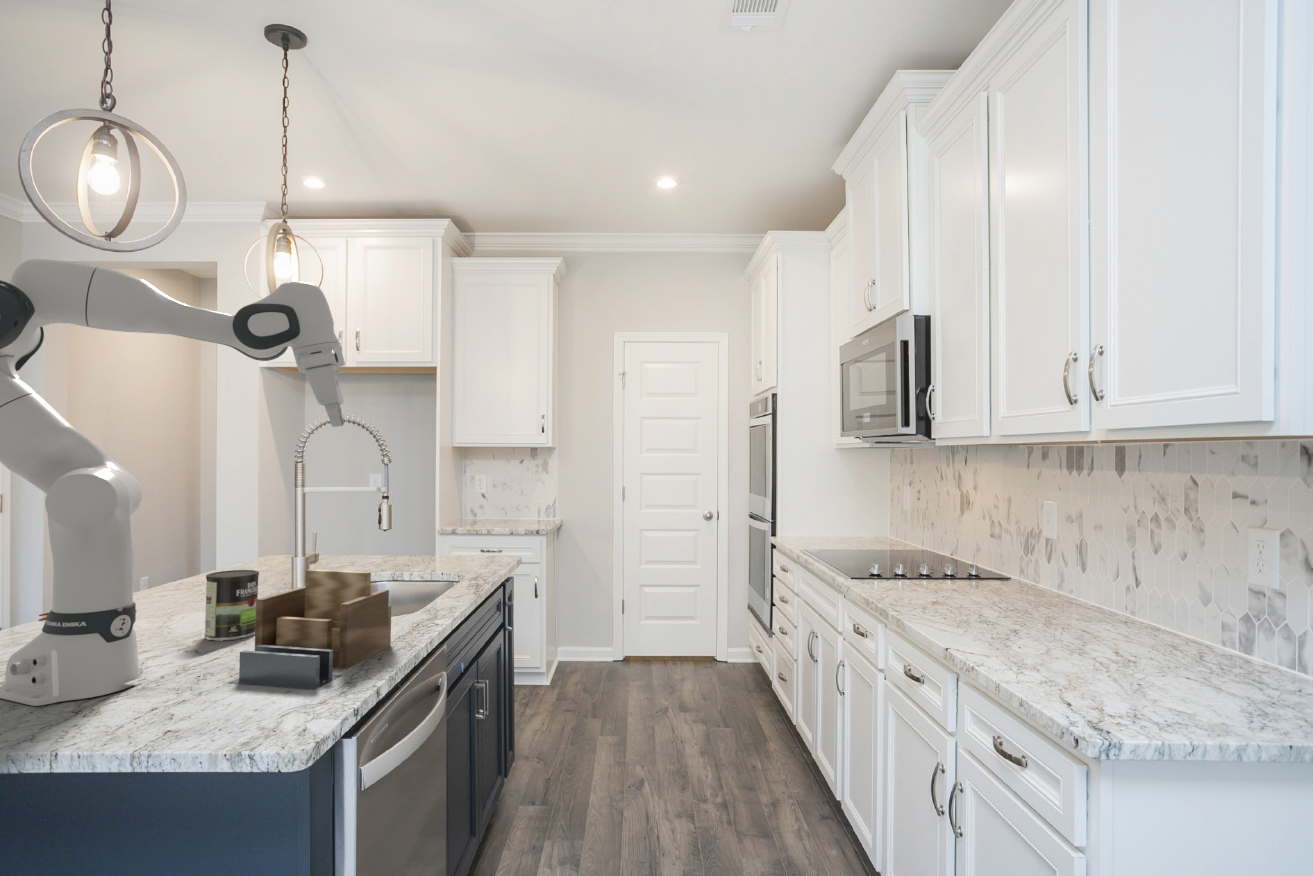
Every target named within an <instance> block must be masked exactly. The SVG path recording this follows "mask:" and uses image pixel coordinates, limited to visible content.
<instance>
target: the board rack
mask: <svg viewBox="0 0 1313 876" xmlns="http://www.w3.org/2000/svg"><path fill="white" fill-rule="evenodd" d="M389 600H390V590H389V589H380V590H377V591H375V592H372V593H371V592H370V594H368V595H366V596H363V597H360V598H357V599H354V600H351V601H348V602H345V603H342V604H341V610H340V648H339V649H328V650H333V668H332V670H346V669H348V668H351V667H352V666H354V665H356V664H358V663H360V662H362V661H365V660H366V659H368V658H371V657H372V656H374V655H376V654H378V653H380V652H382V651H383V650H386V649H388V648H390V647H391V640H392V637H391V635H392V632H391V631H392V604H390V601H389ZM279 617H299V618H305V585H303V586H300V587H299V586H298V587H296V588H293V589H288V590H286V591H282V592H278V593H274V594H270V595H267V596H264V597H263V596H262V597H260V598H258V599H256V621H255V635H254V647H255V646H257V645H269V646H282V645H276V628H277V618H279ZM284 647H296V646H284ZM299 648H311V647H299ZM313 649H326V648H313Z"/></svg>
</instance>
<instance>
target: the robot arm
mask: <svg viewBox="0 0 1313 876" xmlns="http://www.w3.org/2000/svg"><path fill="white" fill-rule="evenodd" d="M10 279H11V280H10V282H7V281H4V280H0V463H1V464H2V465H4V467H6V469H8V470H10V472H13V473H14V474H16V475H18V476H20V477H21V478H23V479H24V480H26V481H27V482H29V483H30V484H32V485H33V486H35V488H38V489H39V490H41V491H42V492H43V493H45V494H46V495H45V499H44V500H45V501H44V504H45V505H44V506H45V511H46V514H47V526H48V535H49V543H50V548H51V555H52V562H53V563H52V564H53V565H52V566H53V574H52V575H53V576H52V603H51V604H52V605H51V606H52V609H51V610H50V611H49V612H45V613H41V614H39V615H38V617H42V618H40V619H38V622H42V621H45V622H44V624H43V626H42V629H41V633H39V634H38V635H37V636H36V637H34V638H33V639H32V640H30V641H29V642H28V643H26V644H25V645H23V646H21V648H19V649H17V650H16V651H14V653H12V654H11V655H10V656H9V659H8V660H7V662H6V666H5V667H6V668H5V675H4V680H1V681H0V699H1V700H2V699H3V700H7V701H11V702H16V703H19V704H24V705H28V706H32V707H39V706H45V705H50V704H56V703H59V702H67V701H74V700H83V699H88V698H94V697H100V696H104V695H108V694H111V693H112V694H113V693H115V692H120V691H122V690H125V689H128V688H131V687H132V686H134V684H126V683H129V682H132V681H135V680H138V679H141V678H142V673H143V665H141V664H139V661H140V660H139V649H138V643H137V641H138V640H137V632H136V630H135V628H134V624H135V622H136V619H137V618H136V615H137V607H136V602H135V601H134V580H135V577H134V576H135V558H134V557H135V556H134V552H133V543H132V530H131V516H132V515H133V514H134V513H135V512H136V510H137V509H139V506H140V504H141V502H142V495H143V494H142V487H141V484H140V483H139V481H138V480H137V478H135V476H134V475H133V474H131V472H129V471H128V470H127V469H126V468H125V467H123V466H122V464H120V463H119V462H117V460H115V459H114V458H113V457H112V456H110V455H109V454H108V453H107V452H105V451H104V450H103V449H102V448H101V447H100V446H98V445H97V444H95V443H94V442H93V441H92V440H91V439H89V438H88V437H86V436H85V435H84V434H83V433H81V431H79V430H78V429H77V428H75V427H74V426H73V425H72V424H71V423H70V421H68V420H67V419H65V417H64V416H62V414H60V413H59V412H58V411H57V410H56V409H55V408H54V407H53V406H52V405H50V403H49V402H47V401H46V400H45V399H44V398H43V397H42V396H41V395H40V394H39V393H37V392H36V391H35V390H34V389H33V388H32V387H31V386H30V385H29V384H28V383H27V382H26V381H25V380H24V379H23V378H22V377H21V376H20V374H19V372H17V371H20V370H21V368H23V367H24V366H25V364H26V363H27V362H28V361H29V360H30V359H31V358H32V357H33V356H35V354H36V353H37V352H38V351H39V349H40V348H41V347H42V345H43V342H44V339H45V332H44V331H45V330H44V328H43V327H44V326H47V325H51V324H72V325H75V326H80V327H87V328H92V329H96V330H104V331H112V332H121V333H122V332H125V333H138V334H139V333H140V334H141V333H143V334H159V335H160V334H162V335H172V336H177V337H178V336H179V337H184V338H189V339H193V340H199V341H204V342H209V343H212V344H213V343H214V344H219V345H222V346H223V345H224V346H228V347H230V348H231V349H234V350H236V351H237V352H239V353H241V354H243V355H244V356H246V357H248V358H250V359H252V360H255V361H259V362H267V361H273V360H275V359H279V358H280V357H281V356H283V355H284V354H285V353H286V351H287V350H288V348H289V347H290V348H291V349H292V353H293V356H294V360H295V363H296V366H297V369H298V373H299V374H306V377H307V380H308V383H309V385H310V387H311V390H312V392H313V394H314V396H315V398H316V401H317V403H318V404H319V406H324V408H325V411H326V414H327V416H328V418H329V421H330V425H331V427H334V428H336V427H341V426H344V425H345V422H344V419H343V411H342V408H341V405H343V404H344V398H343V395H342V391H341V387H340V383H339V380H338V376H339V375H341V374H342V373H341V368H340V367H343V366H345V365H346V362H345V359H344V355H343V351H342V347H341V344H340V340H339V339H338V337H337V335H336V333H335V329H334V327H335V326H334V324H335V322H334V318H333V315H332V311H331V309H330V306H329V303H328V301H327V298H326V295H325V293H324V292H323V291H322V289H321V288H320V287H319V286H317V285H316V284H314V283H310V282H307V281H290V282H284V283H281V284H279V286H278V287H277V289H275V290H273V291H272V292H271V293H270V294H268V295H266V296H265V297H263V298H262V299H260V300H257V301H255V302H252V303H250V304H247V305H245V306H243V307H242V308H240V309H239V310H238V311H237V312H236V313H235V314H228V313H223V312H219V311H215V310H210V309H206V308H202V307H196V306H192V305H188V304H186V303H183V302H180V301H178V300H176V299H174V298H172V297H170V296H168V295H167V294H165V293H163V292H162V291H161V290H159V289H158V288H157V287H155V286H154V285H152V284H151V283H149V282H148V281H146V280H144V279H142V278H139V277H138V276H137V277H136V276H134V275H131V274H128V273H125V272H124V271H119V270H116V269H112V268H107V267H102V266H97V265H92V264H87V263H81V262H75V261H67V260H59V259H42V258H33V259H27V260H25V261H23V262H21V263H20V264H19V265H18V266H17V267H16V268H15V270H14V271H13V273H12V275H11V278H10ZM43 616H44V617H43Z"/></svg>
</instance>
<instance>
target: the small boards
mask: <svg viewBox="0 0 1313 876" xmlns="http://www.w3.org/2000/svg"><path fill="white" fill-rule="evenodd" d="M276 645H282V646H296V647H311V648H326V649H339V648H340V621H334V620H332V619H316V618H299V617H279V618H277V628H276Z"/></svg>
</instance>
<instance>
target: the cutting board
mask: <svg viewBox="0 0 1313 876" xmlns="http://www.w3.org/2000/svg"><path fill="white" fill-rule="evenodd" d="M371 574H372V572H370V571H351V570H350V571H349V570H332V569H330V570H329V569H328V570H327V569H309V568H308V569H306V570H305V582H304V583H305V585H304V586H305V618H316V619H332V620H334V621H340V610H341V604H342V603H345V602H348V601H351V600H354V599H357V598H360V597H363V596H366V595H368V594H371Z"/></svg>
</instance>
